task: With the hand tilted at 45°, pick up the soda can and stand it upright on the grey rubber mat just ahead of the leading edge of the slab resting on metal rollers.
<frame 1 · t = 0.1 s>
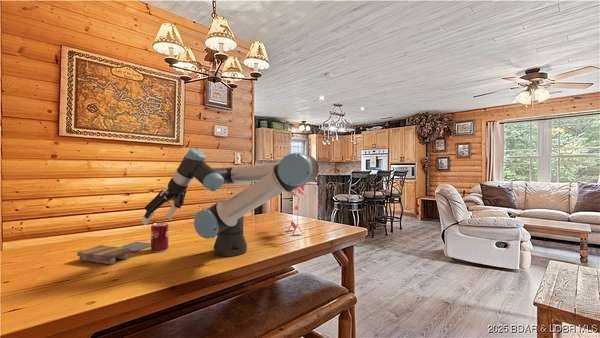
hand: (156, 220, 119), 15 cm above the table, tool tilted 35°, fingers open, 13 cm apart
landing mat: (135, 247, 129), on the table
slab on rollers: (104, 259, 112), on the table
soda can: (159, 250, 125), on the table
figurine: (301, 232, 161), on the table
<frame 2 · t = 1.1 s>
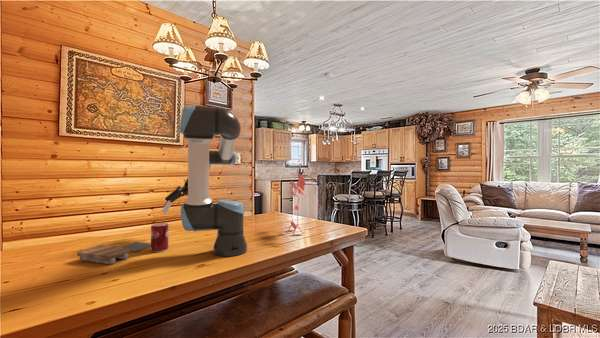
hand: (175, 213, 135), 15 cm above the table, tool tilted 45°, fingers open, 13 cm apart
nothing on the table moved.
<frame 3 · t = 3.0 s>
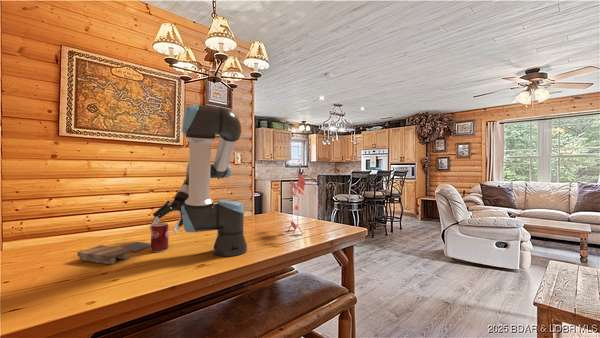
hand: (162, 230, 128), 8 cm above the table, tool tilted 45°, fingers open, 13 cm apart
nothing on the table moved.
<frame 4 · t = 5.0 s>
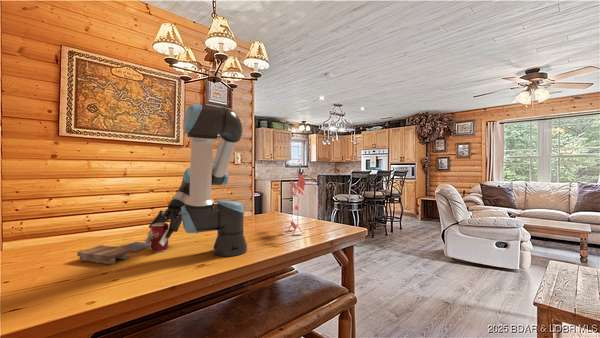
hand: (153, 243, 122), 4 cm above the table, tool tilted 45°, fingers closed on soda can, 7 cm apart
soda can: (159, 250, 125), on the table, touching gripper
everything else where it was.
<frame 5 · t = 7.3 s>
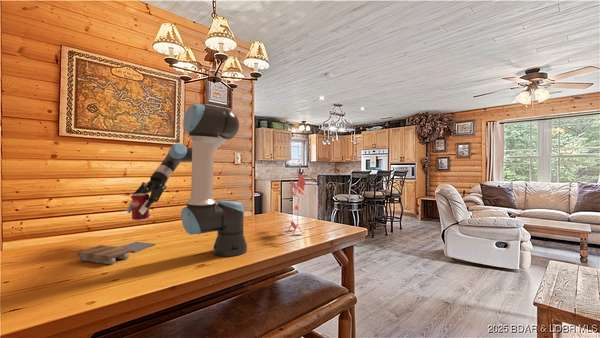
hand: (134, 212, 126), 17 cm above the table, tool tilted 45°, fingers closed on soda can, 7 cm apart
soda can: (140, 219, 129), point 13 cm above the table, touching gripper
everything else where it was.
when the fingers open (6 cm above the table, at t = 9.9 s): soda can drops 1 cm, resting on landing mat.
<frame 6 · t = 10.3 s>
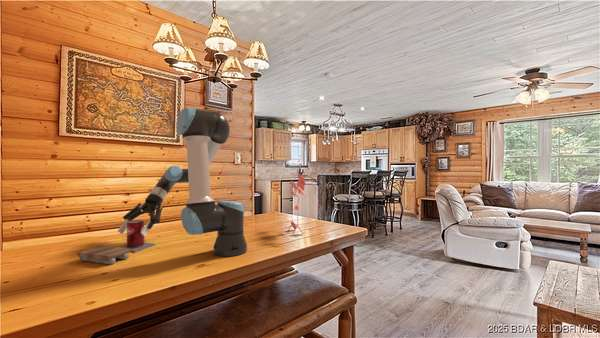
hand: (131, 233, 127), 7 cm above the table, tool tilted 45°, fingers open, 13 cm apart
soda can: (135, 246, 129), resting on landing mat
everything else where it was.
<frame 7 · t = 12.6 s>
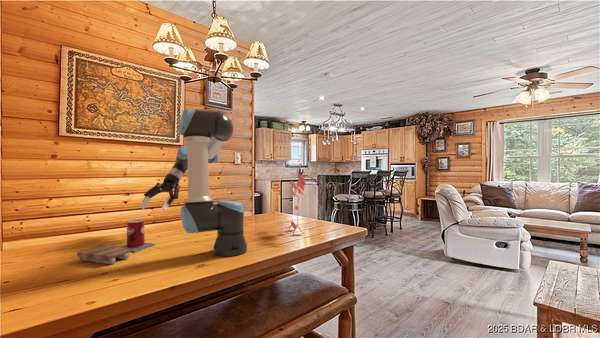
hand: (152, 208, 139), 17 cm above the table, tool tilted 45°, fingers open, 13 cm apart
nothing on the table moved.
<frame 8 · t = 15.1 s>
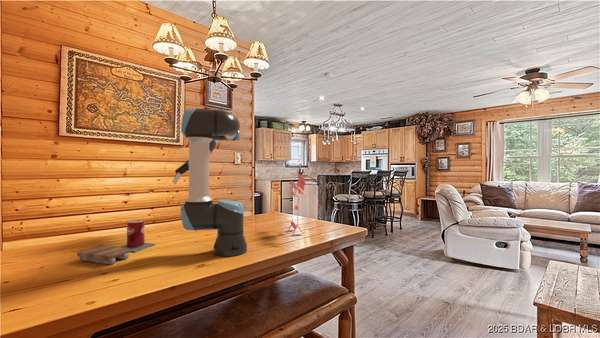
hand: (184, 183, 146), 30 cm above the table, tool tilted 45°, fingers open, 13 cm apart
nothing on the table moved.
at the end: soda can inside the target area (0.1 cm from its centre), resting on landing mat; soda can tilted 0°; the gripper is holding nothing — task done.
